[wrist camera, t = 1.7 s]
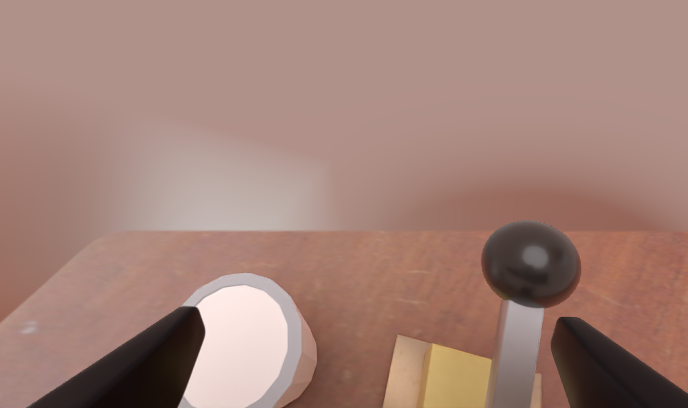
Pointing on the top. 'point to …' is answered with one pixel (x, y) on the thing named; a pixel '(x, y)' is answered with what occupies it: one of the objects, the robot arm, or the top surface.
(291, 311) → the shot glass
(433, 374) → the butter
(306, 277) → the top surface
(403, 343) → the butter cutter
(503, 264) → the lever
